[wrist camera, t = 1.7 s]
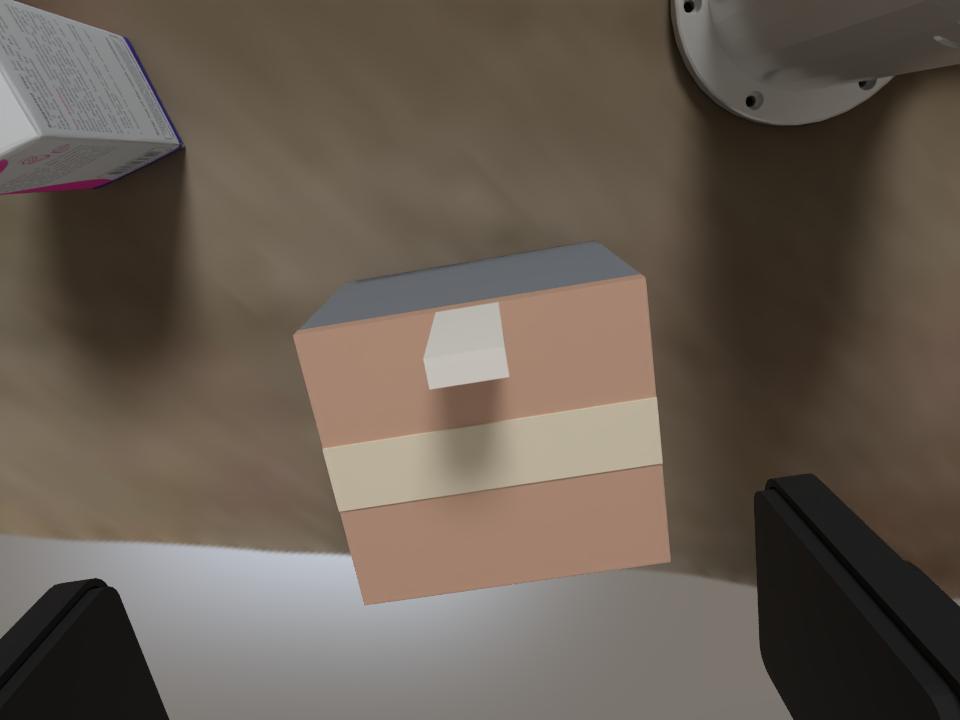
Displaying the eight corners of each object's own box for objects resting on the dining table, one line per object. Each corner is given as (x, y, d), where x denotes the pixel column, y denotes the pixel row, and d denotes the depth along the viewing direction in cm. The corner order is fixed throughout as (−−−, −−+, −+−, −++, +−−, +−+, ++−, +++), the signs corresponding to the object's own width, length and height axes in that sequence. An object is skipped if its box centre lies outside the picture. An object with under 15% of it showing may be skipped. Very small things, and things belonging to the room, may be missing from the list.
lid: (640, 273, 26) (695, 315, 19) (665, 551, 30) (718, 663, 23) (298, 330, 26) (240, 388, 20) (367, 593, 30) (337, 714, 24)
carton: (596, 240, 35) (640, 273, 26) (620, 453, 39) (665, 549, 30) (345, 282, 36) (299, 329, 27) (393, 488, 40) (367, 592, 30)
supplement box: (126, 31, 32) (-55, -30, 21) (188, 147, 34) (49, 146, 23) (27, 80, 33) (-197, 46, 22) (93, 192, 34) (-85, 211, 24)
